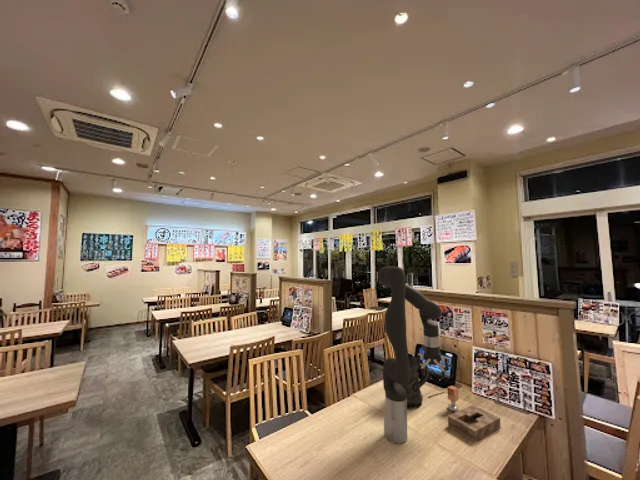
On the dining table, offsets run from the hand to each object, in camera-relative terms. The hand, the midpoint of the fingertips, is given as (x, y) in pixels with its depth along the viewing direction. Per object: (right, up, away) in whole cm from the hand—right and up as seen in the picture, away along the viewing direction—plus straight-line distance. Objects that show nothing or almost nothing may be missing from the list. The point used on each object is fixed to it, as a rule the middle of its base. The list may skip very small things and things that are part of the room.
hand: (433, 376), depth 135 cm
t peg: (+14, -21, +7) cm, 26 cm away
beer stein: (-7, -22, +16) cm, 28 cm away
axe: (+17, -23, +26) cm, 39 cm away
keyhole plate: (+16, -20, -7) cm, 27 cm away
